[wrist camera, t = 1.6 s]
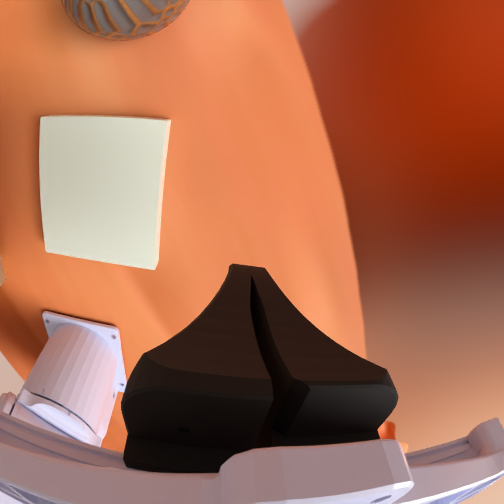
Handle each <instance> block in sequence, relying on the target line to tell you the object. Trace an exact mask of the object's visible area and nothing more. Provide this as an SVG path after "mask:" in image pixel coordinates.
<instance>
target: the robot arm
mask: <svg viewBox="0 0 504 504" xmlns="http://www.w3.org/2000/svg"><path fill="white" fill-rule="evenodd" d="M42 317H43V320H44V324H45V327H46V331H47V334H48V337H49V339H48V341H47V343H46V345H45V346H44V348H43V350H42V352H41V353H40V355H39V357H38V359H37V361H36V362H35V364H34V366H33V368H32V370H31V372H30V374H29V375H28V377H27V379H26V381H25V383H24V385H23V387H22V389H21V391H20V393H19V394H18V395H17V397H16V395H14V394H13V393H11V392H9V393H3V394H2V395H1V396H0V504H458V503H460V502H462V501H464V500H466V499H468V498H470V497H472V496H474V495H476V494H478V493H479V492H481V491H482V490H484V489H485V488H487V487H488V486H490V485H491V484H493V483H494V482H495V481H497V480H498V479H499V478H501V477H502V476H503V475H504V428H503V426H502V424H501V423H500V421H499V419H498V418H493V419H491V420H488V421H485V422H483V423H481V424H479V425H477V426H476V427H475V428H474V429H473V430H472V431H471V432H470V433H469V434H468V435H467V436H466V437H463V438H460V439H457V440H454V441H451V442H448V443H444V444H441V445H437V446H434V447H430V448H426V449H423V450H418V451H414V452H410V453H405V454H404V451H403V449H402V446H401V445H400V444H399V442H398V441H396V440H392V439H380V437H379V434H378V431H377V429H378V428H379V427H380V426H381V425H382V423H383V422H384V421H385V420H386V419H387V418H388V416H389V415H390V414H391V413H392V411H393V409H394V408H395V407H396V405H397V401H398V394H397V391H396V388H395V386H394V384H393V382H392V380H391V377H390V375H389V373H388V371H387V370H386V369H385V368H382V367H380V366H378V365H376V364H374V363H372V362H369V361H367V360H365V359H363V358H361V357H359V356H358V355H356V354H354V353H352V352H351V351H349V350H347V349H345V348H344V347H342V346H341V345H339V344H338V343H336V342H335V341H333V340H332V339H331V338H329V337H328V336H327V335H325V334H324V333H323V332H321V331H320V330H319V329H318V328H316V327H315V326H314V325H313V324H312V323H311V322H310V321H309V320H307V319H306V318H305V317H304V316H303V315H302V314H301V313H300V312H299V311H298V310H297V308H296V307H295V306H294V305H293V304H292V303H291V302H290V301H289V299H288V298H287V297H286V296H285V295H284V293H283V292H282V291H281V290H280V288H279V287H278V286H277V284H276V283H275V281H274V280H273V279H272V277H271V276H270V274H269V273H268V272H267V270H266V269H265V268H262V267H254V266H247V265H239V264H232V265H230V266H229V271H228V275H227V277H226V279H225V281H224V283H223V284H222V286H221V288H220V290H219V291H218V293H217V294H216V295H215V297H214V298H213V300H212V301H211V302H210V304H209V305H208V306H207V307H206V308H205V309H204V311H203V312H202V313H201V314H200V315H199V316H198V317H197V318H196V319H195V320H194V321H193V322H191V323H190V324H189V325H188V326H187V327H186V328H185V329H183V330H182V331H181V332H179V333H178V334H176V335H175V336H174V337H172V338H171V339H169V340H168V341H166V342H165V343H163V344H161V345H159V346H157V347H156V348H154V349H152V350H150V351H148V352H146V353H144V354H143V355H142V356H141V358H140V359H139V361H138V363H137V364H136V366H135V368H134V369H133V371H132V373H131V375H130V377H129V379H128V382H127V381H126V375H125V369H124V363H123V356H122V349H121V342H120V334H119V330H118V328H117V327H115V326H111V325H106V324H101V323H96V322H91V321H87V320H82V319H78V318H74V317H69V316H65V315H61V314H57V313H53V312H49V311H44V312H43V314H42ZM113 335H115V336H113ZM118 391H119V392H124V394H123V398H122V401H121V411H122V414H123V418H124V422H125V425H126V429H127V432H128V436H127V440H126V445H125V450H124V453H122V452H118V451H114V450H110V449H106V448H102V447H101V443H102V439H103V438H104V437H105V435H106V432H107V429H108V425H109V421H110V418H111V414H112V411H113V407H114V404H115V400H116V397H117V393H118Z"/></svg>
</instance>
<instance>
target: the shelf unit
mask: <svg viewBox="0 0 504 504" xmlns="http://www.w3.org/2000/svg"><path fill="white" fill-rule="evenodd" d="M5 281H6V278H5V274H4V270H3V265H2V261H1V256H0V286H1V285H2V284H3V283H4V282H5Z"/></svg>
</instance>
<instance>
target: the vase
mask: <svg viewBox="0 0 504 504" xmlns="http://www.w3.org/2000/svg"><path fill="white" fill-rule="evenodd" d="M189 1H190V0H62V3H63V6H64V9H65V11H66V13H67V14H68V16H69V17H70V18H71V20H72V21H73V22H74V23H75V24H76V25H77V26H78V27H80V28H81V29H82V30H84V31H85V32H87V33H89V34H92V35H94V36H97V37H100V38H104V39H109V40H119V41H122V40H133V39H138V38H142V37H146V36H148V35H151V34H153V33H156V32H158V31H160V30H161V29H163V28H165V27H166V26H168V25H169V24H170V23H172V22H173V21H174V20H175V19H176V18H177V17H178V16H179V15H180V14H181V13H182V12H183V10H184V9H185V7H186V6H187V4H188V3H189Z"/></svg>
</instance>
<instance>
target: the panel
mask: <svg viewBox="0 0 504 504" xmlns="http://www.w3.org/2000/svg"><path fill="white" fill-rule="evenodd" d="M170 125H171V119H161V118H149V117H134V116H114V115H48V116H43V117H41V119H40V142H39V176H40V199H41V213H42V224H43V233H44V242H45V249H46V252H49V253H55V254H60V255H66V256H72V257H78V258H83V259H89V260H95V261H101V262H107V263H113V264H120V265H126V266H132V267H138V268H145V269H151V270H155V268H156V266H157V263H158V261H159V242H160V224H161V210H162V197H163V186H164V176H165V166H166V157H167V148H168V140H169V132H170Z"/></svg>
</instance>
